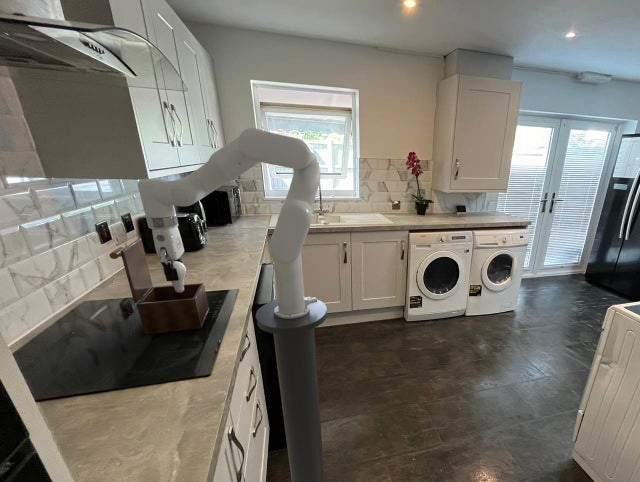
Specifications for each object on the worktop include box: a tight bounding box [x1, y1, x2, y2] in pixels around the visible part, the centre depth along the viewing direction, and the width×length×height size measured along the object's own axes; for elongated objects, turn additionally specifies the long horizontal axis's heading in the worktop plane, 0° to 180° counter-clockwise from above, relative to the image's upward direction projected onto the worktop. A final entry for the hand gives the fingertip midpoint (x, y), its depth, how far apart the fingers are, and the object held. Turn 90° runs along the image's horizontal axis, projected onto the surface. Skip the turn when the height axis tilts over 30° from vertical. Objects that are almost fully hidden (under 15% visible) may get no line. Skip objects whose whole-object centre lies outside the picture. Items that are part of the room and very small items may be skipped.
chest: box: [135, 282, 210, 336], centre depth 108 cm, size 16×14×11 cm
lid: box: [109, 238, 154, 304], centre depth 100 cm, size 16×14×5 cm
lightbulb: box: [162, 261, 187, 293], centre depth 105 cm, size 6×6×11 cm
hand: (175, 276), depth 104 cm, fingers closed on lightbulb, 6 cm apart
